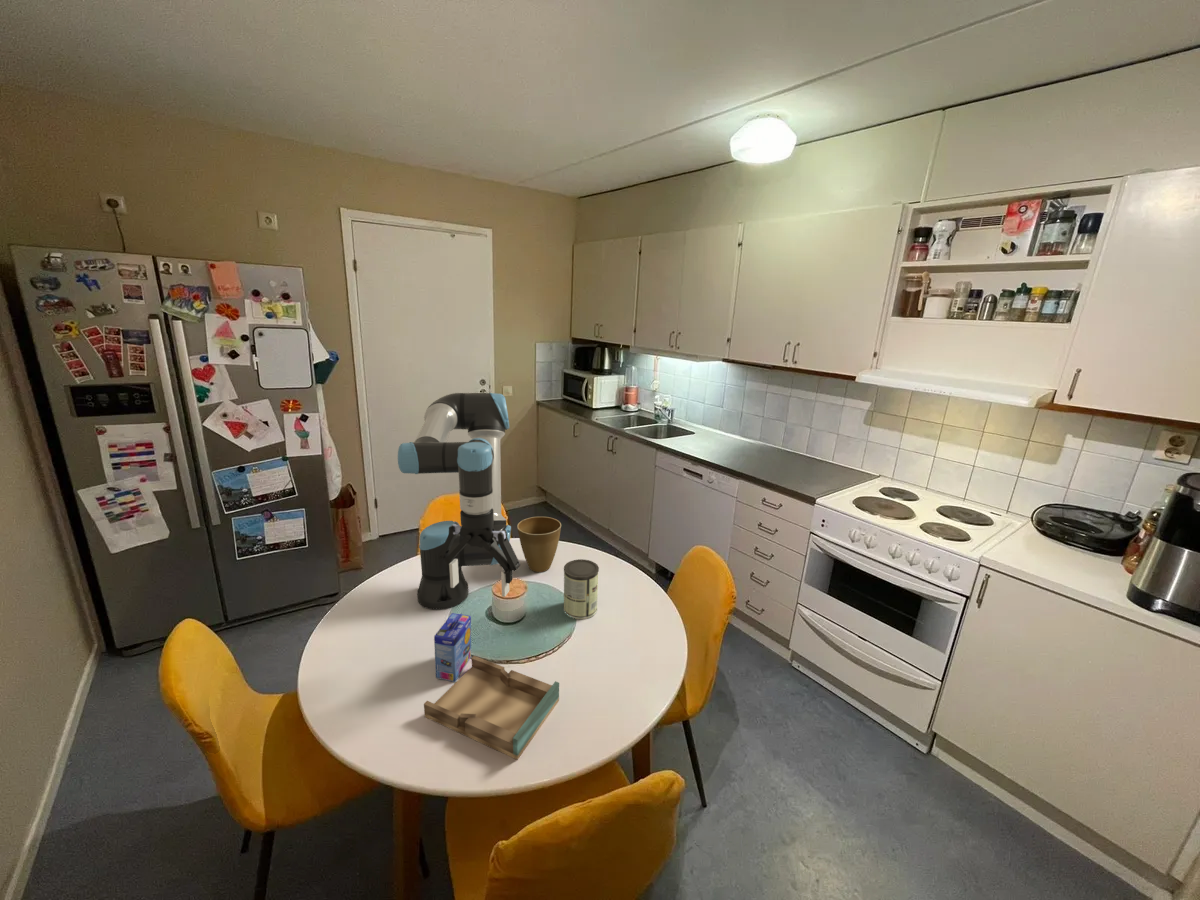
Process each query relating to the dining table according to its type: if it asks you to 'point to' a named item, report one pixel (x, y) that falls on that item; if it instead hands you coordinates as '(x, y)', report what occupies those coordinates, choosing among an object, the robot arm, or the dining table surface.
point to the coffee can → (580, 588)
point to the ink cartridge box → (453, 647)
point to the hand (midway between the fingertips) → (479, 589)
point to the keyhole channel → (495, 707)
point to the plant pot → (539, 541)
